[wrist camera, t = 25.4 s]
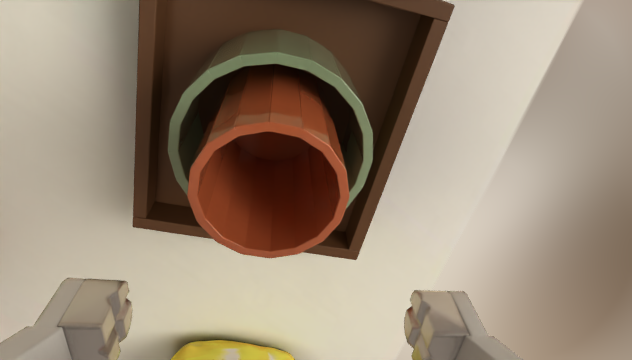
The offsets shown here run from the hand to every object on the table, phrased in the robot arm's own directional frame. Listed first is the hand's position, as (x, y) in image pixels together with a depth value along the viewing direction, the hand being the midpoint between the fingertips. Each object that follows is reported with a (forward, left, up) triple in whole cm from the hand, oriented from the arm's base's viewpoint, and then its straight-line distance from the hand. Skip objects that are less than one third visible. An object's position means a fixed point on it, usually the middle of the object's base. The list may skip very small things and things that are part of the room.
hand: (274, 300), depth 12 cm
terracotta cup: (0, 0, -14) cm, 14 cm away
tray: (0, 0, -15) cm, 15 cm away
